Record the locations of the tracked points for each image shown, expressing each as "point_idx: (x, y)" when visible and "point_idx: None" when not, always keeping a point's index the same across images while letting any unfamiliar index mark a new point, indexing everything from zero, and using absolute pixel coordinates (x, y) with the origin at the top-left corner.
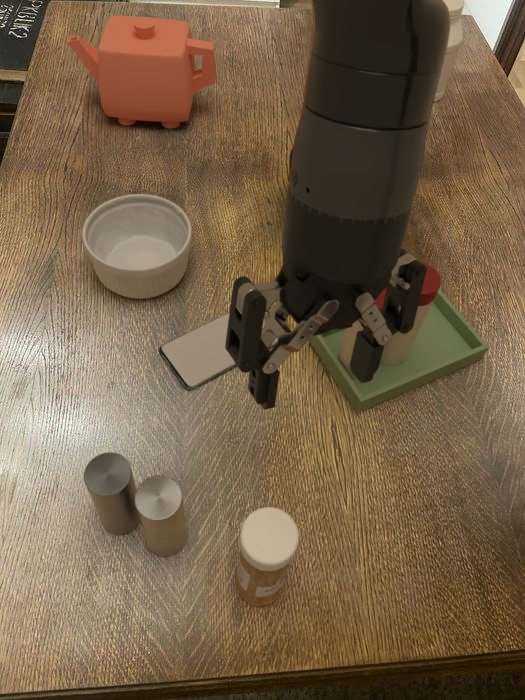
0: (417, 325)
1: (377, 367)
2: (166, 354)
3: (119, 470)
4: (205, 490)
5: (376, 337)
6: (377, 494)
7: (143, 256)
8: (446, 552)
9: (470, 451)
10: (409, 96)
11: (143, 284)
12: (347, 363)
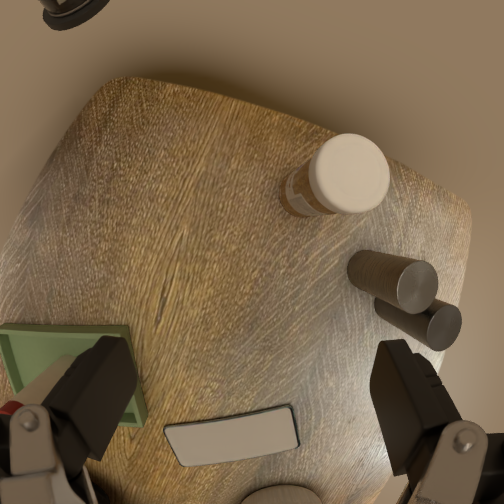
0: (34, 383)
1: (79, 357)
2: (295, 440)
3: (436, 329)
4: (316, 301)
5: (48, 442)
6: (146, 232)
7: None
8: (115, 154)
9: (45, 240)
10: None
11: (294, 499)
12: None
